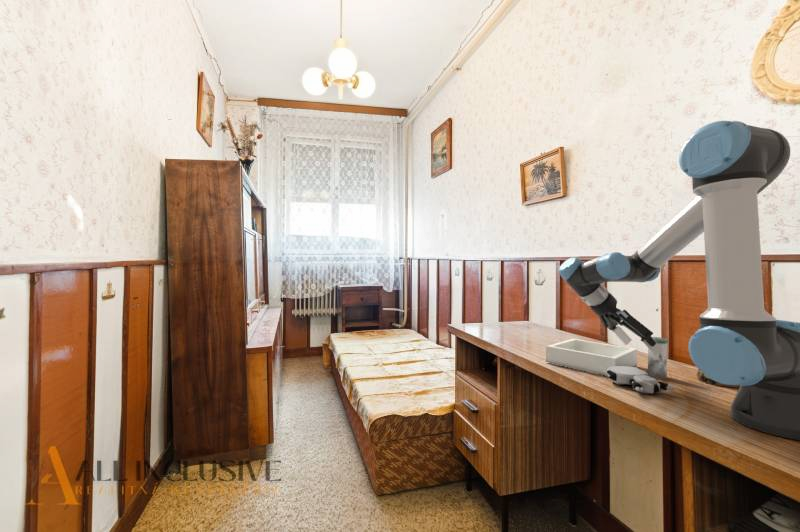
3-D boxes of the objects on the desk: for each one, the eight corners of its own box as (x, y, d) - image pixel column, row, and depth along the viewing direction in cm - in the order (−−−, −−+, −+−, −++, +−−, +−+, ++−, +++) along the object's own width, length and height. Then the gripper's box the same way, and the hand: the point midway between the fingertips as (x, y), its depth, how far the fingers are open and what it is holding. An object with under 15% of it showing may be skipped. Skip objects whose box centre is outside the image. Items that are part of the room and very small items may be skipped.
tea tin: (665, 380, 110) (665, 340, 110) (645, 376, 114) (645, 338, 114) (669, 376, 114) (670, 338, 114) (649, 373, 118) (650, 336, 118)
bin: (614, 378, 111) (615, 358, 111) (545, 363, 128) (546, 346, 128) (636, 366, 126) (637, 348, 126) (572, 353, 142) (572, 338, 143)
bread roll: (743, 401, 103) (757, 377, 103) (706, 383, 105) (720, 359, 105) (719, 390, 113) (733, 368, 113) (686, 373, 115) (699, 351, 114)
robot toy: (677, 399, 97) (633, 378, 111) (679, 383, 96) (634, 364, 111) (636, 401, 95) (597, 379, 110) (638, 384, 94) (598, 364, 109)
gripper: (569, 302, 127) (610, 346, 128) (615, 312, 102) (664, 366, 103) (585, 288, 127) (625, 331, 128) (634, 293, 102) (683, 347, 103)
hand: (642, 347), depth 115 cm, fingers open, 13 cm apart
